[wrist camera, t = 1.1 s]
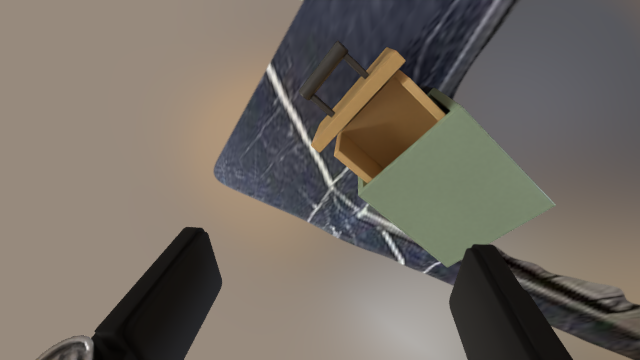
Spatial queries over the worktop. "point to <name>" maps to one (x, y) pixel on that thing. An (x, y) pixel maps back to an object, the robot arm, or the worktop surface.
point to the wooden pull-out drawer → (371, 112)
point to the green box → (454, 187)
